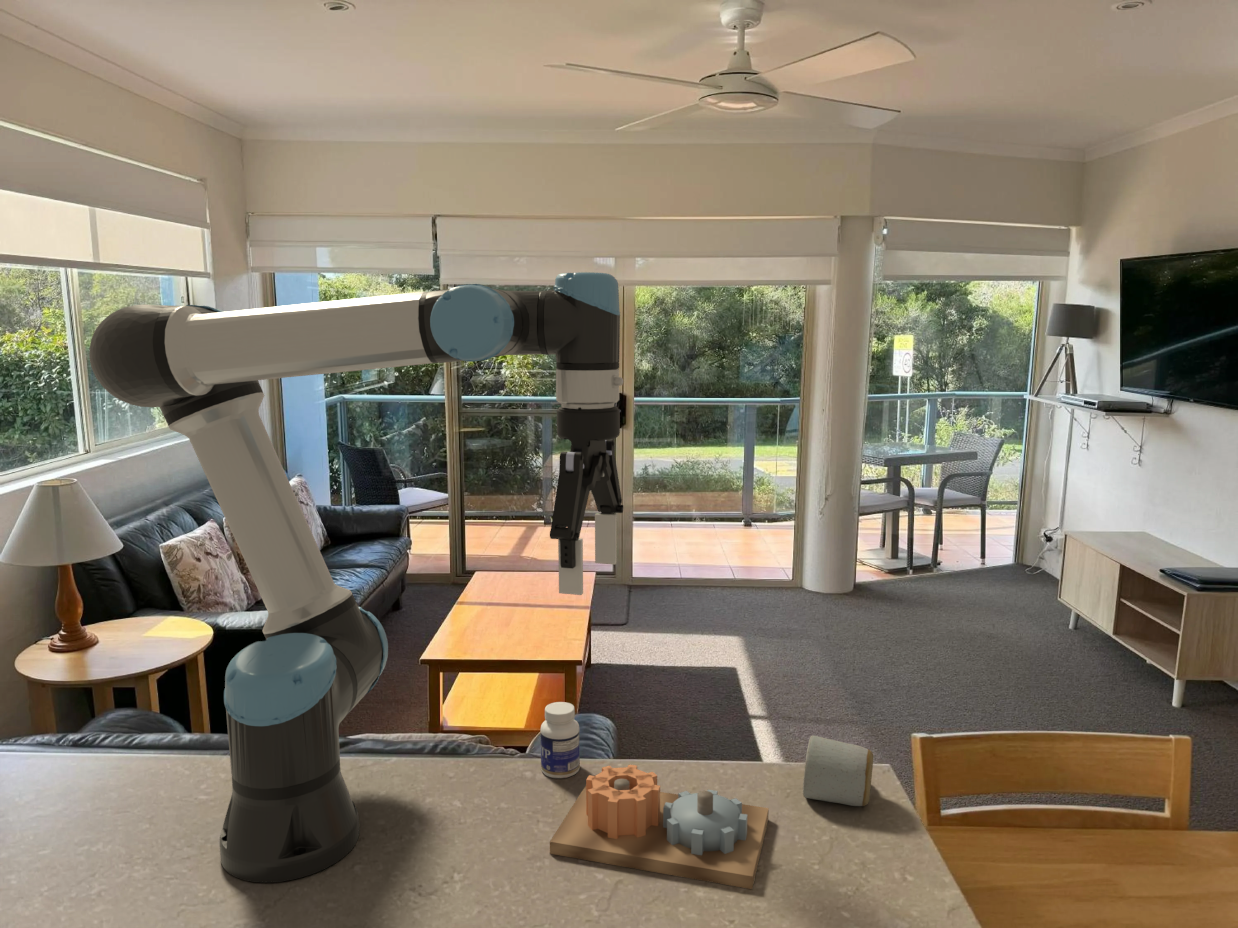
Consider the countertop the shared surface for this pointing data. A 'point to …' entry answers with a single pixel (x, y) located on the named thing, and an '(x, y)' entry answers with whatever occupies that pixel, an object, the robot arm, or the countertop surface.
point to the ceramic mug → (837, 772)
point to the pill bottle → (560, 741)
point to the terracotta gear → (623, 802)
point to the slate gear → (705, 823)
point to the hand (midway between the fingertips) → (589, 577)
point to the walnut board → (664, 845)
